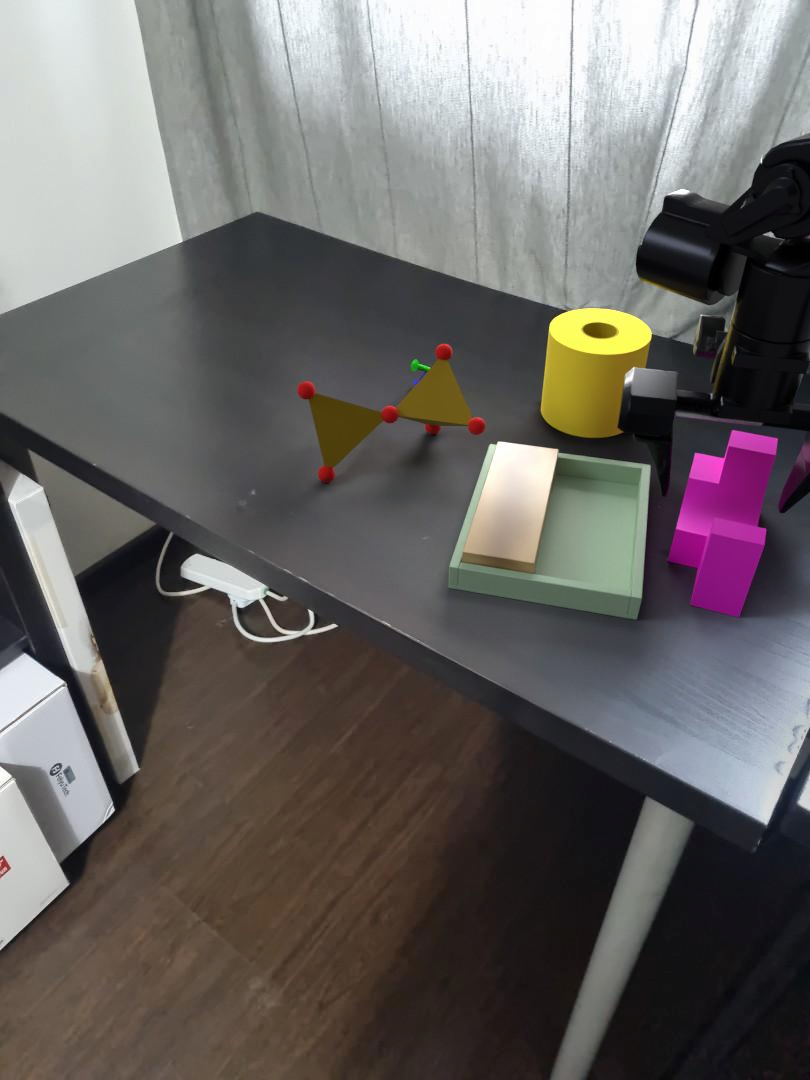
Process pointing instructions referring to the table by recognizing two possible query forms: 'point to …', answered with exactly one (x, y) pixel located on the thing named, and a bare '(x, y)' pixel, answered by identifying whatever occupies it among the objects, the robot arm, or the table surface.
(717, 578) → the toy block
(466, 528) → the frame
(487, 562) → the back pad
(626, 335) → the yellow hollow cylinder
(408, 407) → the molecule model
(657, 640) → the table surface
